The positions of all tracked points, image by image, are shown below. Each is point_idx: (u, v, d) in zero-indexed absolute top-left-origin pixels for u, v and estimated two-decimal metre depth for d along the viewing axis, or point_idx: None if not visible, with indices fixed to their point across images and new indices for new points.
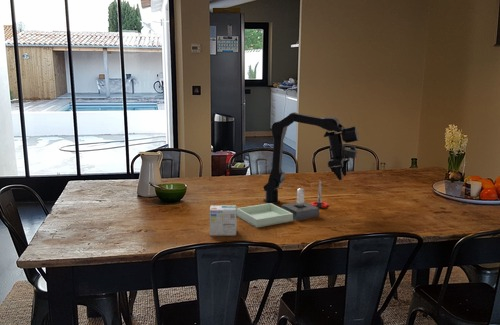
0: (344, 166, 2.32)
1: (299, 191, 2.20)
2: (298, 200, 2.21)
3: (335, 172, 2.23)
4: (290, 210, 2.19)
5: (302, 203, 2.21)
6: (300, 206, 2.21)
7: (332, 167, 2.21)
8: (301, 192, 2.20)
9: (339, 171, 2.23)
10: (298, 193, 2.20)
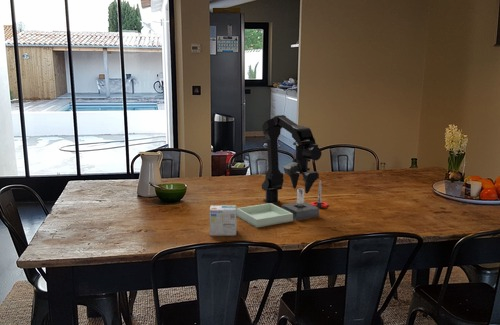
0: None
1: (299, 191, 2.20)
2: (298, 200, 2.21)
3: None
4: (290, 210, 2.19)
5: (302, 203, 2.21)
6: (300, 206, 2.21)
7: None
8: (301, 192, 2.20)
9: None
10: (298, 193, 2.20)
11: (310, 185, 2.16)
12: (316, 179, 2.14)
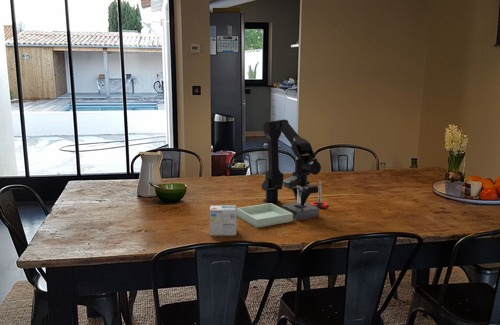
0: None
1: None
2: (298, 200, 2.21)
3: None
4: (290, 210, 2.19)
5: None
6: (300, 206, 2.21)
7: None
8: None
9: None
10: (298, 193, 2.20)
11: (306, 197, 2.20)
12: None
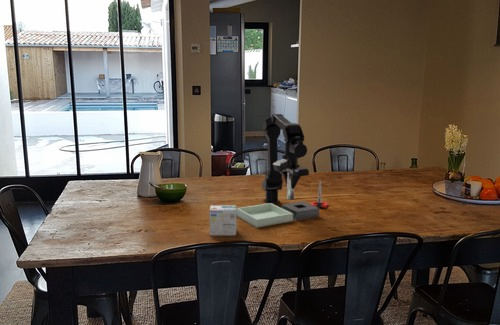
0: None
1: None
2: (288, 183, 2.17)
3: None
4: (290, 210, 2.19)
5: None
6: (290, 190, 2.18)
7: None
8: None
9: None
10: (288, 176, 2.17)
11: (296, 180, 2.16)
12: None
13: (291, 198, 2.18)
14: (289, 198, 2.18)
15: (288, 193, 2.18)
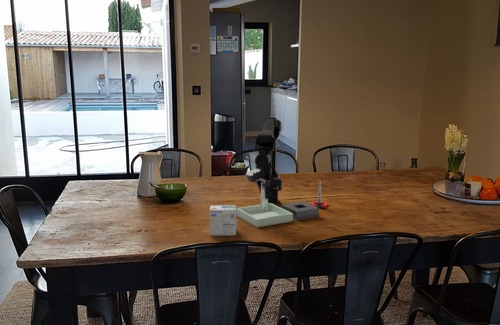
0: None
1: None
2: (262, 193, 2.14)
3: None
4: (290, 210, 2.19)
5: None
6: (264, 200, 2.14)
7: None
8: None
9: None
10: (262, 186, 2.14)
11: (270, 191, 2.13)
12: None
13: (265, 208, 2.15)
14: (263, 208, 2.15)
15: (262, 203, 2.15)
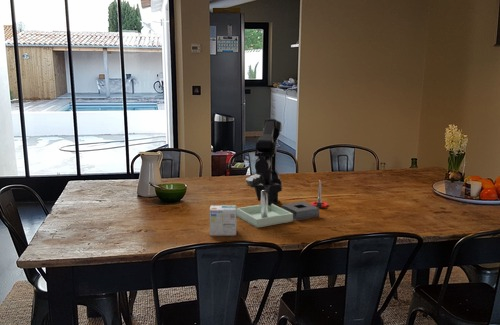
0: None
1: (263, 193, 2.14)
2: (262, 202, 2.15)
3: None
4: (290, 210, 2.19)
5: (266, 205, 2.15)
6: (264, 208, 2.15)
7: None
8: (265, 194, 2.14)
9: None
10: (262, 195, 2.14)
11: (273, 197, 2.11)
12: (278, 191, 2.09)
13: (265, 217, 2.16)
14: (263, 217, 2.16)
15: (262, 211, 2.16)
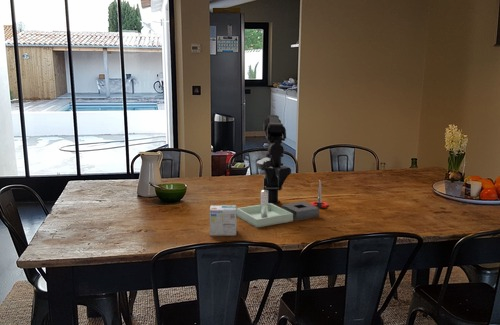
0: None
1: (263, 193, 2.14)
2: (262, 202, 2.15)
3: None
4: (290, 210, 2.19)
5: (266, 205, 2.15)
6: (264, 208, 2.15)
7: None
8: (265, 194, 2.14)
9: None
10: (262, 195, 2.14)
11: (283, 180, 2.19)
12: (288, 174, 2.17)
13: (265, 217, 2.16)
14: (263, 217, 2.16)
15: (262, 211, 2.16)
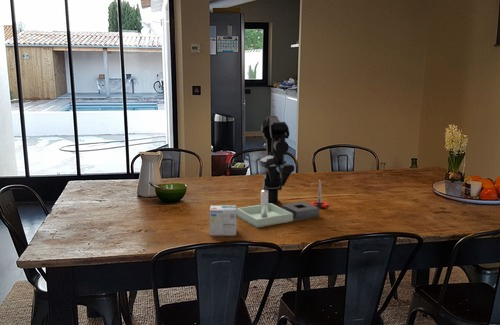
0: None
1: (263, 193, 2.14)
2: (262, 202, 2.15)
3: None
4: (290, 210, 2.19)
5: (266, 205, 2.15)
6: (264, 208, 2.15)
7: None
8: (265, 194, 2.14)
9: None
10: (262, 195, 2.14)
11: (286, 178, 2.21)
12: (291, 172, 2.19)
13: (265, 217, 2.16)
14: (263, 217, 2.16)
15: (262, 211, 2.16)
